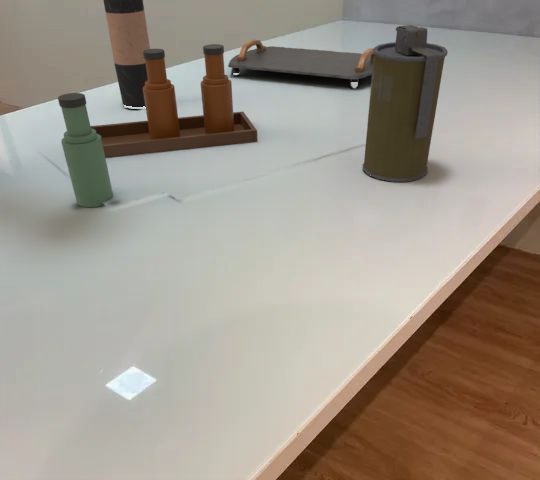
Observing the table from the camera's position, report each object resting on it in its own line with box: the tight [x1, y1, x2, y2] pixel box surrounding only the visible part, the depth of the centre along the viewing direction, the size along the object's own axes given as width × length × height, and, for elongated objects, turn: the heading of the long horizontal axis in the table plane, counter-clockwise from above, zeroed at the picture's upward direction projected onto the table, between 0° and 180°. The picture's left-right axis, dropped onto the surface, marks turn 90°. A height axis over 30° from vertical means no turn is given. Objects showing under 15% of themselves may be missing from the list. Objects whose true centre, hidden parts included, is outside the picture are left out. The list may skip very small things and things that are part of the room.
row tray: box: [90, 111, 258, 159], centre depth 101 cm, size 32×12×3 cm, turn 104°
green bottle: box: [57, 92, 114, 208], centre depth 79 cm, size 5×5×14 cm
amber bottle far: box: [200, 43, 234, 134], centre depth 98 cm, size 5×5×14 cm
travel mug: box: [102, 0, 151, 107], centre depth 114 cm, size 8×8×20 cm
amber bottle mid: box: [143, 48, 180, 140], centre depth 97 cm, size 5×5×14 cm
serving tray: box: [227, 38, 374, 82], centre depth 137 cm, size 39×23×6 cm, turn 64°
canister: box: [362, 24, 448, 183], centre depth 84 cm, size 11×10×20 cm
